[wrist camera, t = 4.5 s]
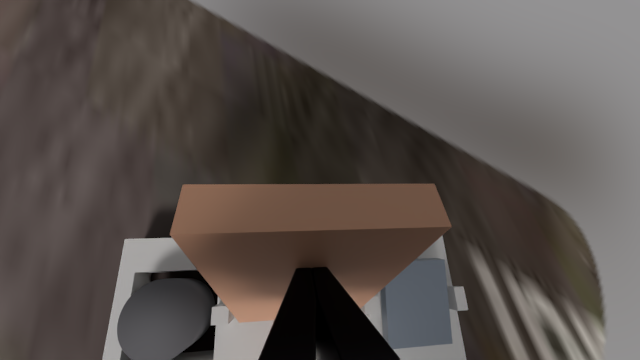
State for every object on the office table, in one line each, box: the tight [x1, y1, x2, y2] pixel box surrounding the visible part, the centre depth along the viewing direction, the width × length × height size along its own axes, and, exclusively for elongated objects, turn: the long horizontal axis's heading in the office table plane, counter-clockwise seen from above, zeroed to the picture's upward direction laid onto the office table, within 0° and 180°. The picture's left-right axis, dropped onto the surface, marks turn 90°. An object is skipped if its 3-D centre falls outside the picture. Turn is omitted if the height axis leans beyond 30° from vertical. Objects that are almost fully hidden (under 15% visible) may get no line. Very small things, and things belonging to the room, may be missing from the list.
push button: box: [117, 278, 215, 360], centre depth 14 cm, size 4×4×3 cm
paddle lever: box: [170, 184, 452, 323], centre depth 10 cm, size 1×6×10 cm, turn 92°
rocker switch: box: [380, 258, 453, 349], centre depth 15 cm, size 4×4×1 cm
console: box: [102, 236, 468, 360], centre depth 15 cm, size 8×19×4 cm, turn 93°
